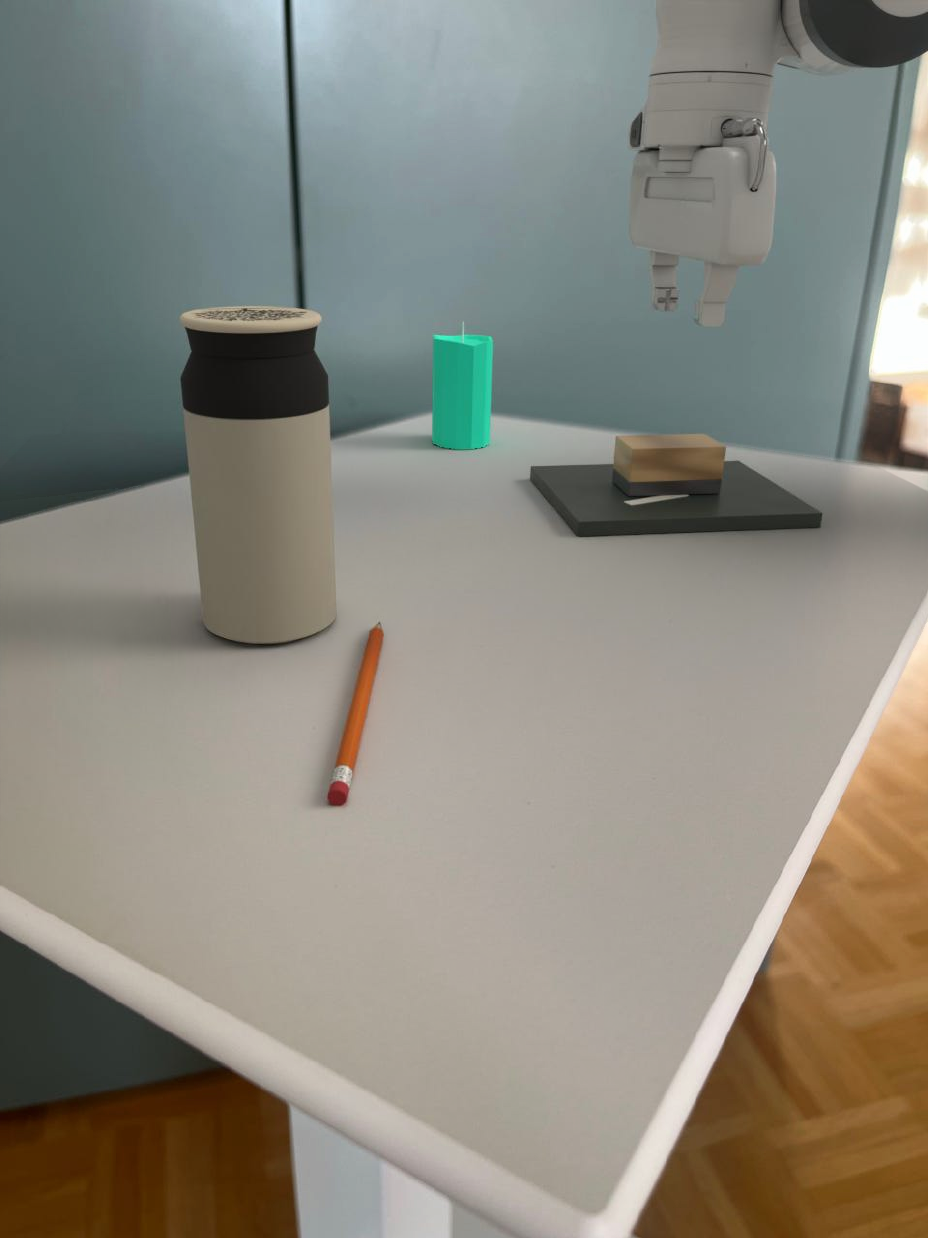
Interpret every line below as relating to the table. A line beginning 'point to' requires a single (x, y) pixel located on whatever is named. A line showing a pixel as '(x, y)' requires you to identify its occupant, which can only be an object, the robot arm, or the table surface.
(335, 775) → the pencil
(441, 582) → the table surface
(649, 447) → the eraser
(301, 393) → the travel mug
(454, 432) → the candle
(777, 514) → the slate board
